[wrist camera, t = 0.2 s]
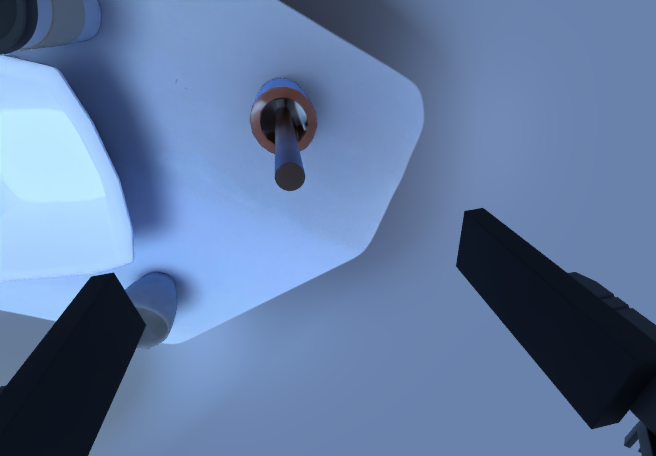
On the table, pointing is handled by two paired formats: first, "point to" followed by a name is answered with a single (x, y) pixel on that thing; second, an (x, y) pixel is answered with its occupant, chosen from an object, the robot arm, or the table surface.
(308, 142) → the crock
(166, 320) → the mug
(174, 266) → the table surface
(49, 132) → the bowl
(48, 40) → the coffee cup
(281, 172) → the spatula
